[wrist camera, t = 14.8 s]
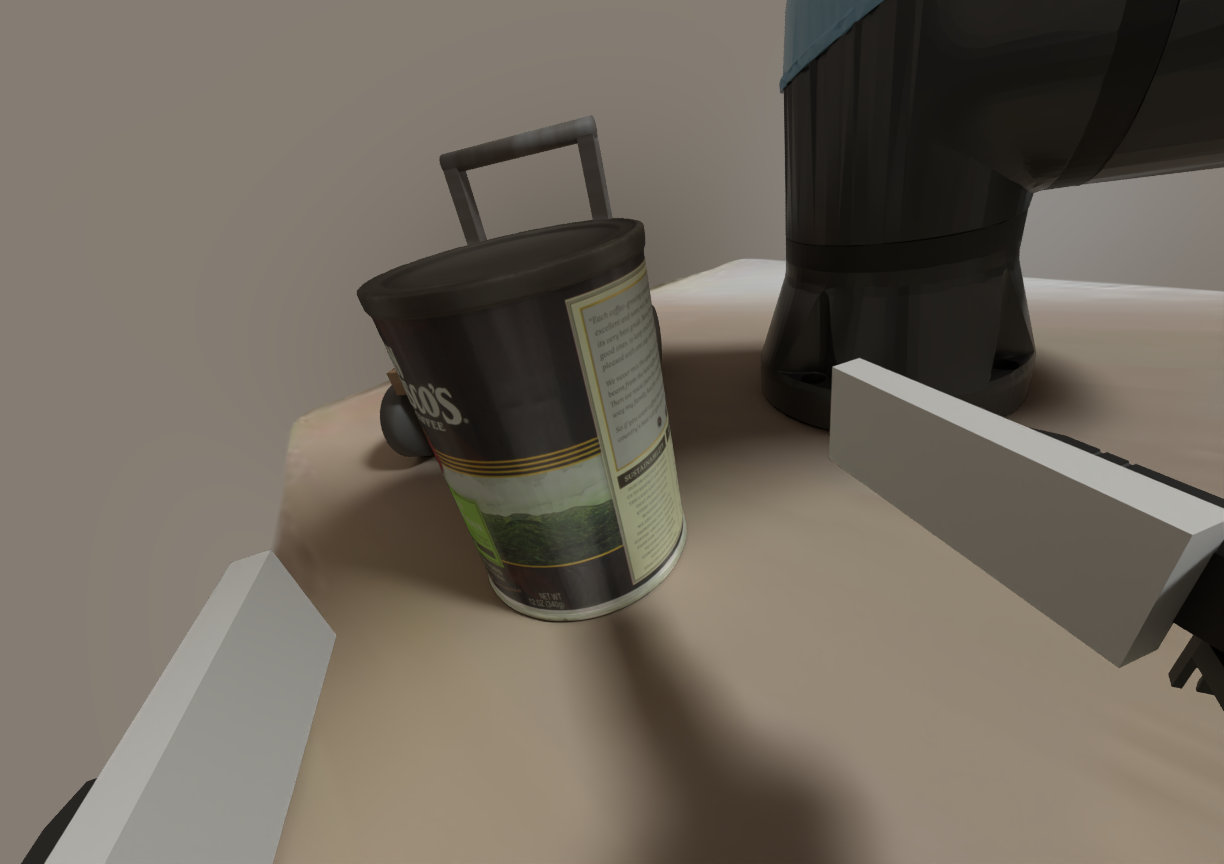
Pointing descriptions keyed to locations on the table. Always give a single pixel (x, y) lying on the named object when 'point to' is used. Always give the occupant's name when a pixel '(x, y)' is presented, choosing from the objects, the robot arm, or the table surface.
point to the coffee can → (544, 409)
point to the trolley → (395, 406)
